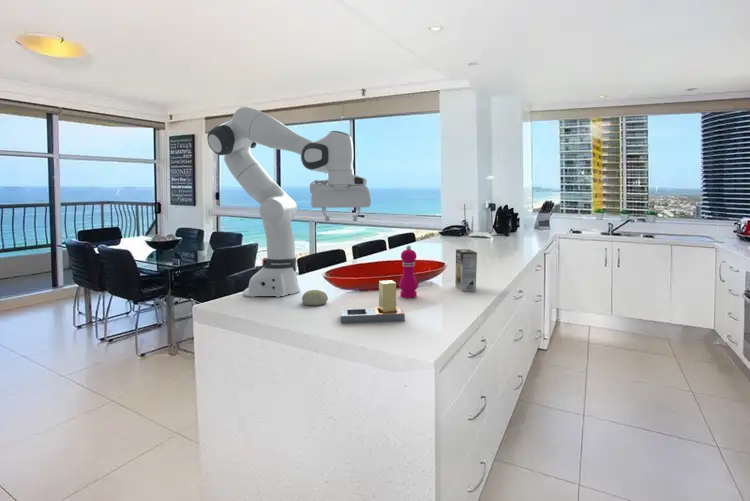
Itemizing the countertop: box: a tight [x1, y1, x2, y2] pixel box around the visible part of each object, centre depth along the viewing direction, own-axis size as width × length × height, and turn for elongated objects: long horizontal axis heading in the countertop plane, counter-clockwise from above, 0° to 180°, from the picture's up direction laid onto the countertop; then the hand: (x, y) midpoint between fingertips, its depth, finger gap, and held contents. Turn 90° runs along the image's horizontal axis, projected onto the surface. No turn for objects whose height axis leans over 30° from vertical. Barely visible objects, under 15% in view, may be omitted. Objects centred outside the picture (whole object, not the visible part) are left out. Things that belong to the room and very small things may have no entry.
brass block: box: [378, 279, 397, 313], centre depth 140 cm, size 4×4×12 cm
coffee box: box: [455, 248, 478, 292], centre depth 181 cm, size 9×6×16 cm
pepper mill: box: [398, 245, 419, 299], centre depth 169 cm, size 7×7×20 cm
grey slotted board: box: [340, 306, 406, 324], centre depth 141 cm, size 20×8×3 cm, turn 96°
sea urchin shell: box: [301, 289, 329, 306], centre depth 160 cm, size 9×8×8 cm
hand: (341, 221), depth 148 cm, fingers open, 8 cm apart
